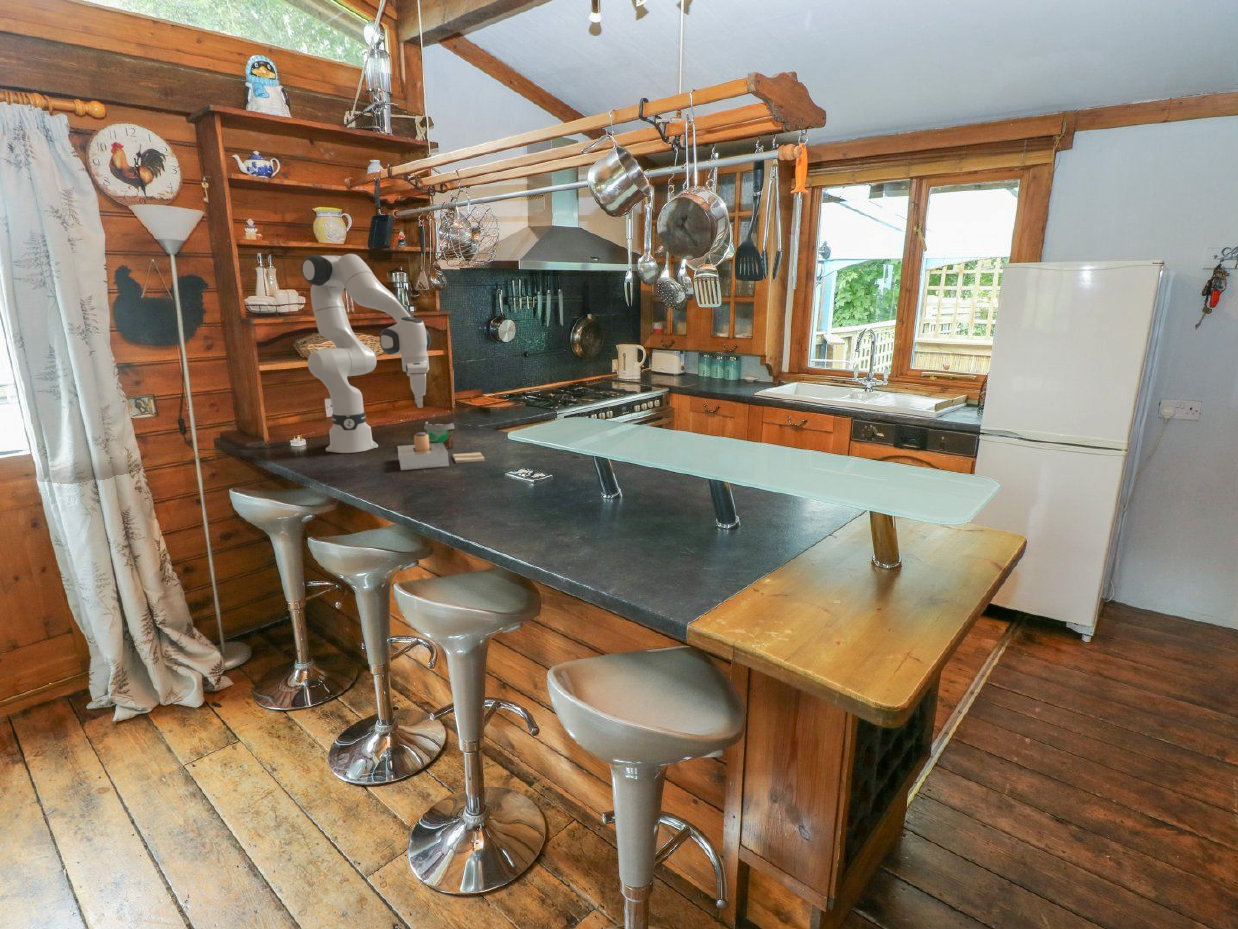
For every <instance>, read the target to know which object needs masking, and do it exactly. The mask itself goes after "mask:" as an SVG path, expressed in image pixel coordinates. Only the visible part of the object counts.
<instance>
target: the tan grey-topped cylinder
mask: <svg viewBox="0 0 1238 929" xmlns="http://www.w3.org/2000/svg"><path fill="white" fill-rule="evenodd" d="M413 442H414V444H413V445H415V452H417V451H429V450H430V448H429V435H428V434H427V432H425V431H423V432H422V431H421V432H420V431H419V432H416V433H415V434H414V435H413Z"/></svg>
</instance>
